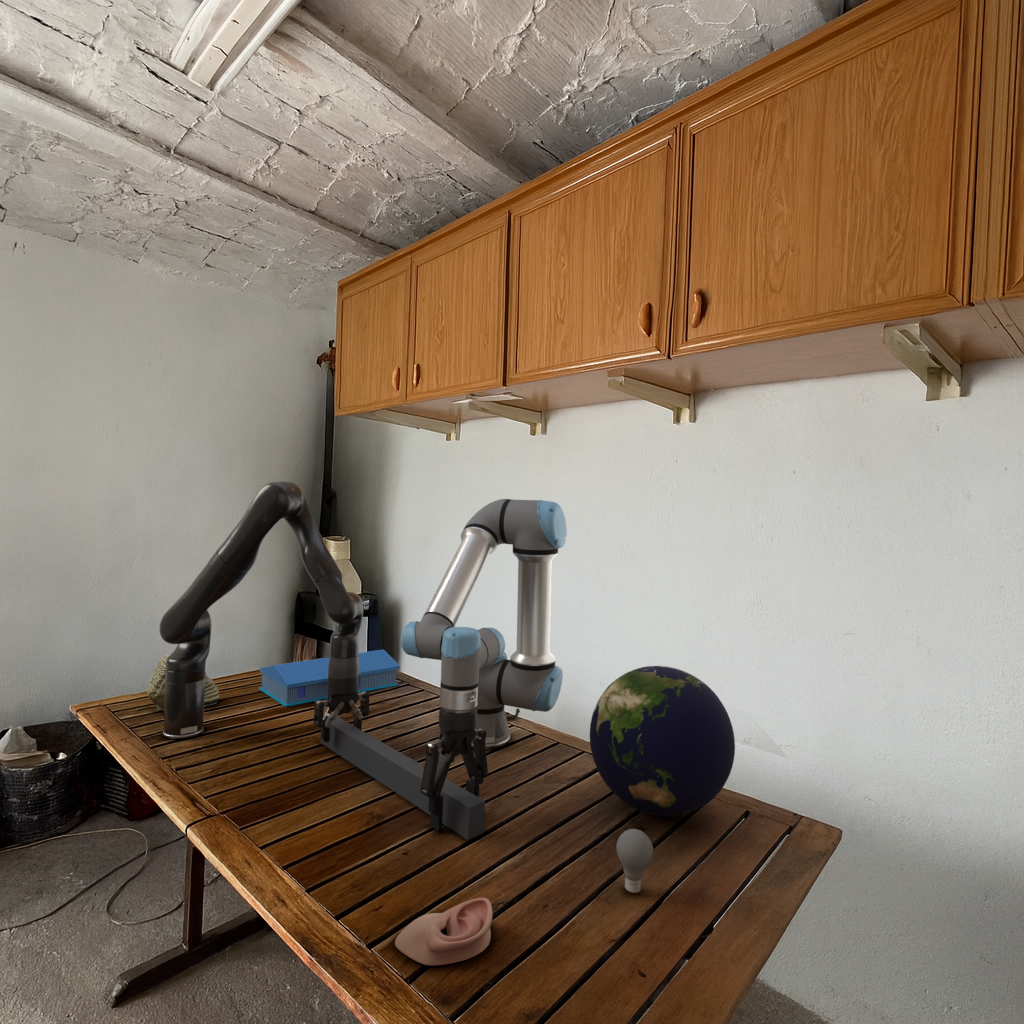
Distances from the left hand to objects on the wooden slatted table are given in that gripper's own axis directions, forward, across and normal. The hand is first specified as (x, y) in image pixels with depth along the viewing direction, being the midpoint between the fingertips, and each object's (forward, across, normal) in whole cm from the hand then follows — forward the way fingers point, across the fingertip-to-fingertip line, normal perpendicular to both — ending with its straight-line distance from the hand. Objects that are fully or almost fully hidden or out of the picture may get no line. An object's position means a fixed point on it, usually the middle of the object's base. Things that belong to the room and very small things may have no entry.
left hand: (341, 737), depth 159 cm
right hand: (+3, 0, +46) cm, 46 cm away
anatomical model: (+3, +22, +71) cm, 75 cm away
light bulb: (+3, -9, +82) cm, 83 cm away
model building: (+3, -22, -47) cm, 52 cm away
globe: (+3, -37, +68) cm, 78 cm away
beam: (+3, 0, +23) cm, 23 cm away
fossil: (+3, +21, -56) cm, 59 cm away
